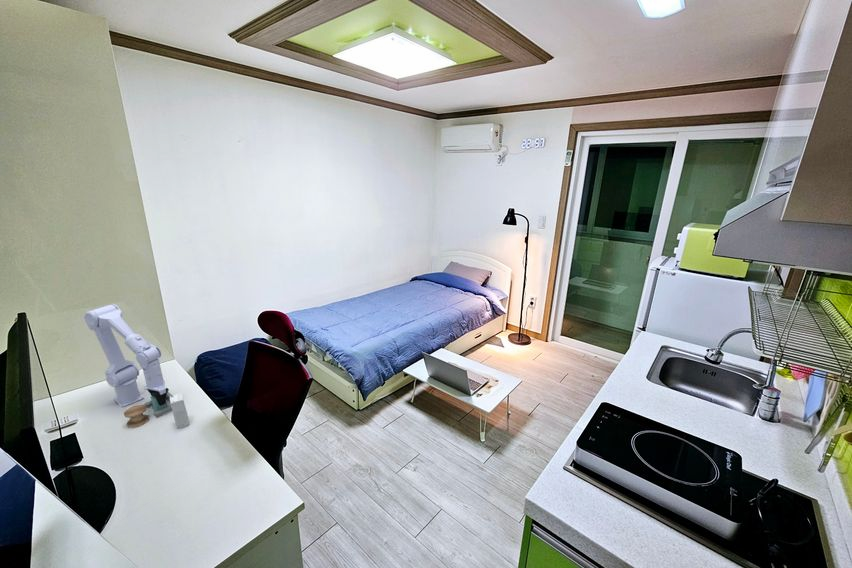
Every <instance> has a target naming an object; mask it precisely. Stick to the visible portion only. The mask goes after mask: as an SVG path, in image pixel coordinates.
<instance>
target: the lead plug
mask: <svg viewBox="0 0 852 568" xmlns="http://www.w3.org/2000/svg"><path fill="white" fill-rule="evenodd" d="M150 401H152V405H153V406H152V408H153V410H154V411H155V412H156V411H158V410H161V409H163V408H165V407H167V406H169V404H168V402H167V401H168V400H166V404H164V405H161V406H160V405H159V404H158V402H157V400H156V398H155V397H154V396H151V395H150Z"/></svg>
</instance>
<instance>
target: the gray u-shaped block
mask: <svg viewBox="0 0 852 568" xmlns="http://www.w3.org/2000/svg"><path fill="white" fill-rule="evenodd" d="M173 395H174V394H171V392H169V391H168V393H167V396H166V400H167V401H169V402H170V396H173ZM144 405H146V408H147V409H149V408H151V407H152V408H153V405H152V401H151V400H149V401H146V402H144ZM171 412H173V411H172V408H171V404H169V405H168V406H167V407H165V408H163V409H161V410H158V411H156V410H155V411H154V412H153V413H154V414H153V415H154V417H155V418H160V417H162V416H164V415H167V414H168V413H171Z"/></svg>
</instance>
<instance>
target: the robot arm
mask: <svg viewBox="0 0 852 568" xmlns="http://www.w3.org/2000/svg"><path fill="white" fill-rule="evenodd" d="M83 318H84V321H85V323H86V325H87V327H88V329H89V330H90V331H94V333H95V336H96V337H97V340H98V342H99V344H100V346H101V348H102V351H103V352H104V354H105V357H106V359H107V361H108V363H109V366H108V367H107V369H106V370H105V372H104V375H105V379H106V382H107V384H108V385H109V386H110V387H113V389H114V393H115V395H116V397H115V398H114V401H115V402H116V403H117V404H118V405H119V406H120V408H125V407H126V406H128V405H132V404H134V403H135V402H136V403H137V402H139V401H141V400H144V396H143V395H142V394H141V393H140V390H139V386H138V383H137V380H138V377H139V376H140V369H139V368H141V369H142V372H143V375H144V380H145V384H146V385H145V386H144V387H143V390H145V391H147V392H148V393H149V395H150V397H151V396H154V397H155V398H156V400H157V402H158V404H159V405H160V406H161V405H164V404H166V396H167V393H168V392H169V388H168V387H166V383H165V382H166V381H165V380H164V376H163V375H164V374H163V372H162V368H161V363H160V358H161V357H162V352H161V350H160V348H159V347H158V346H156V345H154V344H152V343H149V342H148V340H146V339H145V338H144V337H143V336H142V335H141V334H140V333H135V332H134V331H133V330H132V328H131V327H130V326H129V325H128V324H127V322H126V320H124V318H123V311H122V309H121V308H120V307H119V306H118V305H117V304H115V303H111V304H108V305H105V306H101V307H98V308H95V309H92V310H88V311H86V312H85V314H84V316H83ZM112 329H113V330H114V332H115V333H116V334H117V333H118V335H120V336H121V337H122V338H124V339H125V340H124V344H125V345H126V347H128V348H129V349H130V351H132V353H133V354H134V355H136V357H135V359H136V362H137V363H138V364H139V367H138V366H137V365H136V364H135V362H134V361H133V360H127V359H126V358H125V356H124V354H123V351H122V349H121V347H120V346H119V343H118V341H117V339H116V337H115V335H114V333H113V330H112Z"/></svg>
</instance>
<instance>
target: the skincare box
mask: <svg viewBox="0 0 852 568" xmlns="http://www.w3.org/2000/svg"><path fill="white" fill-rule="evenodd" d="M172 395H173V396H170V401H169V402H170V405H171V408H172V411H171V412H172V414H173V419H174V422H175V427H176V429H180V428H184V427H187V426H190V420H189V416H188V413H187V412H188V411H187V408H186V405H185V400H184V397H183V393H182V392H180V393H176V394H172Z"/></svg>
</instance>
